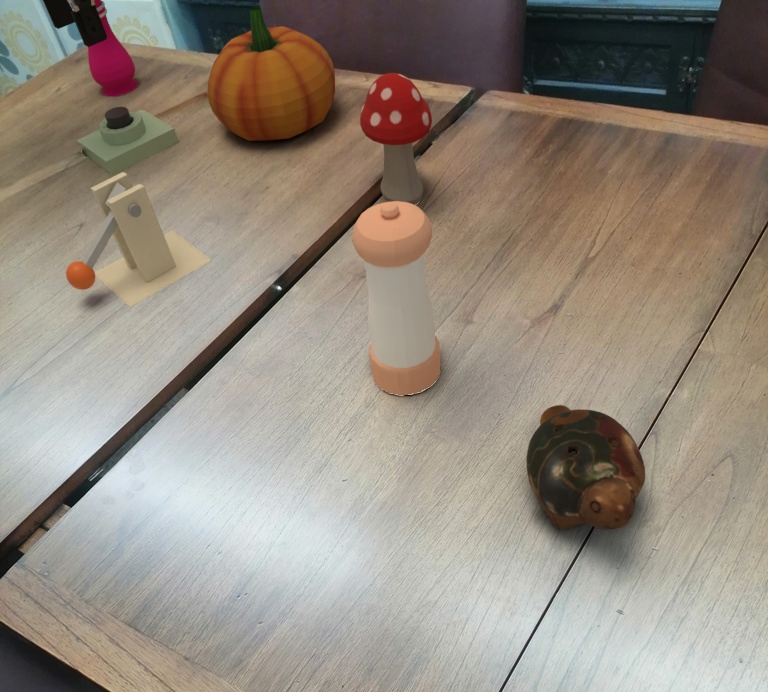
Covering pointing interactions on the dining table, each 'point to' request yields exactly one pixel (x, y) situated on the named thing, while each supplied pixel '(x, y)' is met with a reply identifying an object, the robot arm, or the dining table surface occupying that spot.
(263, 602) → the dining table surface
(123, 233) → the wooden pivot stand
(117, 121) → the button
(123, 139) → the control block
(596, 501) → the decorative turtle
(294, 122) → the pumpkin
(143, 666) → the dining table surface
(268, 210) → the dining table surface
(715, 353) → the dining table surface
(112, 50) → the pepper mill
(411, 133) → the decorative mushroom
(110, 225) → the switch lever
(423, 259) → the salt shaker
